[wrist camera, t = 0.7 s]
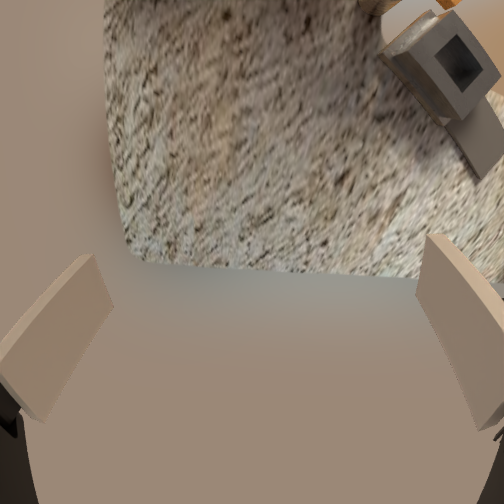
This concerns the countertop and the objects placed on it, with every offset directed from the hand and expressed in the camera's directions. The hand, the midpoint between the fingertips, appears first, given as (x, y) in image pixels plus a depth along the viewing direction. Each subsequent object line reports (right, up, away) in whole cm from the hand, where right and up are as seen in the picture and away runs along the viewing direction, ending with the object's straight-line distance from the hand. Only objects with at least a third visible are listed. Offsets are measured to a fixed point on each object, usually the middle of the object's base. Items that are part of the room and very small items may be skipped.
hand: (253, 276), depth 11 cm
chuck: (+21, +23, +15) cm, 34 cm away
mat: (+29, +16, +17) cm, 38 cm away
